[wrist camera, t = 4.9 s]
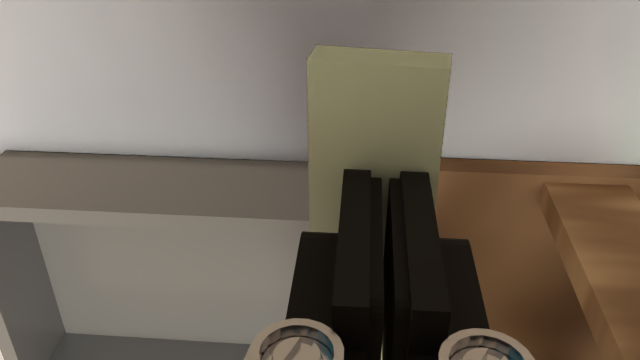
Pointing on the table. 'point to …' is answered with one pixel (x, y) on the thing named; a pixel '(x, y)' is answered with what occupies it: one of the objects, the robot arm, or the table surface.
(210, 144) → the table surface
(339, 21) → the table surface
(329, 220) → the lever
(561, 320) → the stand
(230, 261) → the dish
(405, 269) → the robot arm
